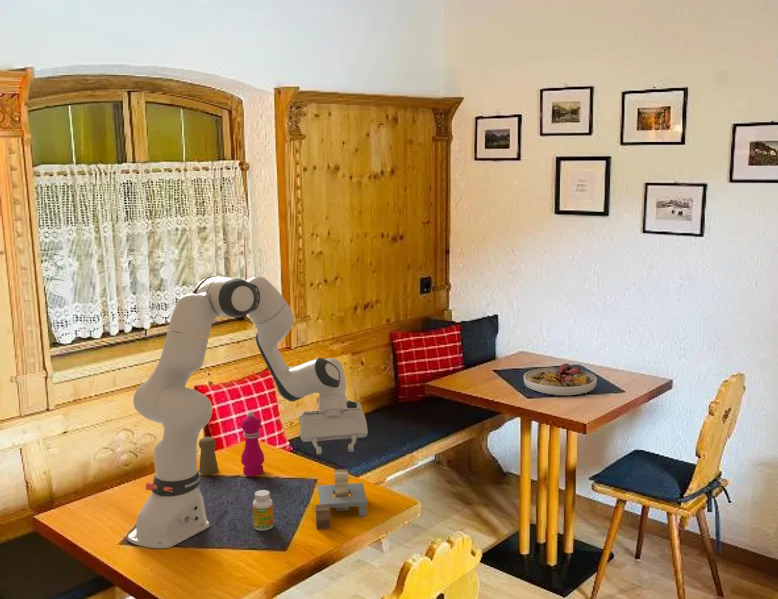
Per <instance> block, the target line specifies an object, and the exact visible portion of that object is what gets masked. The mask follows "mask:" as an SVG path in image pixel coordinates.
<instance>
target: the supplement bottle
mask: <svg viewBox="0 0 778 599" xmlns="http://www.w3.org/2000/svg"><path fill="white" fill-rule="evenodd" d="M252 518H253V524H252V525H253V529H254V530H257V531H262V532H263V531H269V530H271V529H272V528H274V523H275V522H274V502H273V500H272V499H271V493H270V491H269V490H266V489H260V490H257V491H255V493H254V500H253V502H252Z"/></svg>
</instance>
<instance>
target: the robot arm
mask: <svg viewBox="0 0 778 599" xmlns="http://www.w3.org/2000/svg"><path fill="white" fill-rule="evenodd" d="M246 315H248V316H249V318H250V319H251V321H252V323H254V325H255V327H256V329H257V330H256V331H257V332H256V333H255V342H256V345H257V347H258V350H259V352H260V355H261V357H262V358H263V361H264V362H265V364H266V366H267V368H268V370H269V372H270V374H271V376H272V378H273V380H274V384H275V386H276V388H277V389H276V390H277V391H278V394H279V395H280V396H281V397H282V398H283V399H285V400H287V401H288V402H296V401H299V400H301V399H303V398H305V397H307V396H310V395H313V394H316V393H318V400H317V405H318V407H317V408H318V409H317V410H313V411H312V410H311V411H303V412H302V413H301V414H300V415H299V416H298V424H299V425H300V429H299V430H300V432H299V433H300V435H299V436H300V439H301V441H302V442H303V443H305V442H306V443H308V442H312V445H313V446H314V448H315V450H316V451H315V452H316V455H322V453H323V450H322V446H319V445H318V442H320V441H333V440H334V441H335V440H344V439H345V440H346V439H347V440H348V439H351V443H349V444H347V450H348V452H354V447H355V445H356V442H357V438H358V439H359V438H365V437H366V438H367V436H368V433H369V431H368V424H367V420H366V415H365V414H364V412H363V411H362V410H363V408H362V405H361V404H362V403H360V402H359V401H354V400H349V399H348V398H347V395H346V389H347V385H346V384H347V383H346V375H345V371H344V366H343V363H342V362H341V361H340V360H338V359H336V358H331V357H327V358H324V357H318V358H314V359H311V360H309V361H305V362H304V363H300V364H298V365H296V366H290V365H289V366H288V365H287V363H286V362H285V360H284V357H283V356H282V353H281V352H280V350H279V347H278V345H279V343H280V342H281V341H282V340H284V339H285V338H286V337H287V335H288V334H289V333H290V332H291V329H292V328H293V325H294V318H295V317H294V314H293V310H292V308H291V307H290V305H289V304H288V302H287V301H286V299H285V298H284V297H283V295H282V294H281V293H280V292H279V290H278V289H277V288H276V287H275V286H274V285H273V284H272V283H271V282H270V281H269V280H268V279H267V278H265V277H263V276H254V277H252V276H251V277H250V278H248V279H246V280H245V279H242V278H234V277H231V276H224V275H222V276H221V275H220V276H217V275H214V276H213V275H212V276H208V277H205V278H204V279H202V280H201V281H199V282H198V284H197V285H196V286H195V288H194V290H193V291H192V292H191V293H187V294H184V295H182V296H180V297H179V298H178V299H177V303H176V304H175V307H174V308H173V310H172V314H171V317H170V321H169V324H168V327H167V333H166V336H165V340H164V344H163V349H162V352H161V356H160V358H159V361H158V363H157V364H156V366H155V368H154V371H152V373H151V375H150V376H149V378H148V379H147V380H146V381H145V382H143V383H142V384H140V385H139V386H138V387H137V389H136V390H135V391H134V392H135V393H134V395H133V400H132V401H133V406H134V409H135V410H136V411H137V413H138V414H140V415H141V416H142V417H144V418H145V419H147V420H148V421H151V422H154V423H155V422H156V423H158V424H161V425H162V426H163V436H162V439H161V440H160V441H159V442H158V443H157V444H156V445H155V446H154V450H153V455H154V456H153V457H154V469H155V474H154V476H153V480H152V482H146V484H145V486H144V488H145V490H147V491H151V493H150V495H149V496H148V498H147V500H146V501H145V503H144V504H143V506H142V508H141V509H140V511H139V512H138V514H137V516H136V524H135V525H136V527H135V528H134V529H133V530H132V531H131V532H130V533H129V534H128V535H127V539H126V540H128V542H130V543H131V544H132V545H136V546H139V547H140V546H141V547H145V548H152V549H169V548H172V547H174V546H175V545H178V544H179V543H181V542H183V541H186V540H187V539H189V538H190V537H193V536H195V535H196V534H198V533H200V532H202V531H204V530H207V529H208V528H210V526H211V525H210V522H209V520H208V519H207V514H206V507H205V502H204V497H203V494H202V492H201V489H200V483H201V480H200V479H201V475H200V473H199V469H198V456H197V454H198V453H197V452H198V451H197V445H198V439H199V436H200V434H201V430H202V429H203V428H205V427H206V426H207V425H208V424H209V422H210V420H211V418H212V414H213V405H212V402H211V400H210V399H209V397H208V396H206V395H205V394H203V393H202V392H200V391H198V390H197V389H194V388H189V387H186V385H187V383H188V381H189V379H190V378H191V376H192V375H193V374H194V373H195V372H197V371H199V370H200V369H201V368H202V367H203V364H204V361H205V357H206V353H207V352H206V351H207V347H208V344H209V338H210V334H211V327H212V325H213V322H214V321H215V319H216V318H217V317H223V318H241V317H245V316H246Z"/></svg>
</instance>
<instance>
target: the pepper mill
mask: <svg viewBox="0 0 778 599" xmlns="http://www.w3.org/2000/svg"><path fill="white" fill-rule="evenodd" d="M240 425H241V429H242V430H243V432H242V433H243V437H244V439H245V440H244V441H245V442H244V444H245V445H244V449H243V451H242V454H241V458H240V461H241V464H242V465H243V468H242V473H243V475H244V474H245V475H244V476H247V477H257V476H260V475H262V474H263V473H264V466H263V464H264V461H265V455H264V452H263V450H262V449H261V446H260V443H259V437H260V435H261V434H260V429H261V426H262V424H261V420H260V419H259V418H258V417H257V416H255V415H254V412H253V411H249V412H247V416H245V417H244V418H243V419H242V421H241V424H240ZM256 475H257V476H256Z"/></svg>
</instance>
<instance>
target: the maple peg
mask: <svg viewBox="0 0 778 599" xmlns="http://www.w3.org/2000/svg"><path fill="white" fill-rule="evenodd" d="M348 484H349V472H348V468H344V469H343V468H339V469H334V485H335V494H334V497H348V496H350V493H349V488H348ZM335 511H336V512H346V511H350V507H337V508H335Z"/></svg>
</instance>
